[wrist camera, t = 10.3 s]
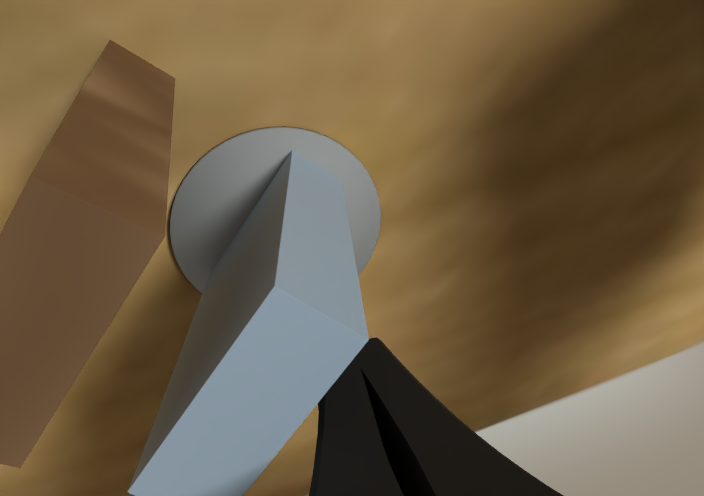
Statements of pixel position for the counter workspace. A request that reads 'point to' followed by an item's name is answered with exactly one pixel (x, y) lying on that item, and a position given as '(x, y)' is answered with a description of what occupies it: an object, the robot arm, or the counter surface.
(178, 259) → the disc
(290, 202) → the domino head
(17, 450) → the domino
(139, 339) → the counter surface
